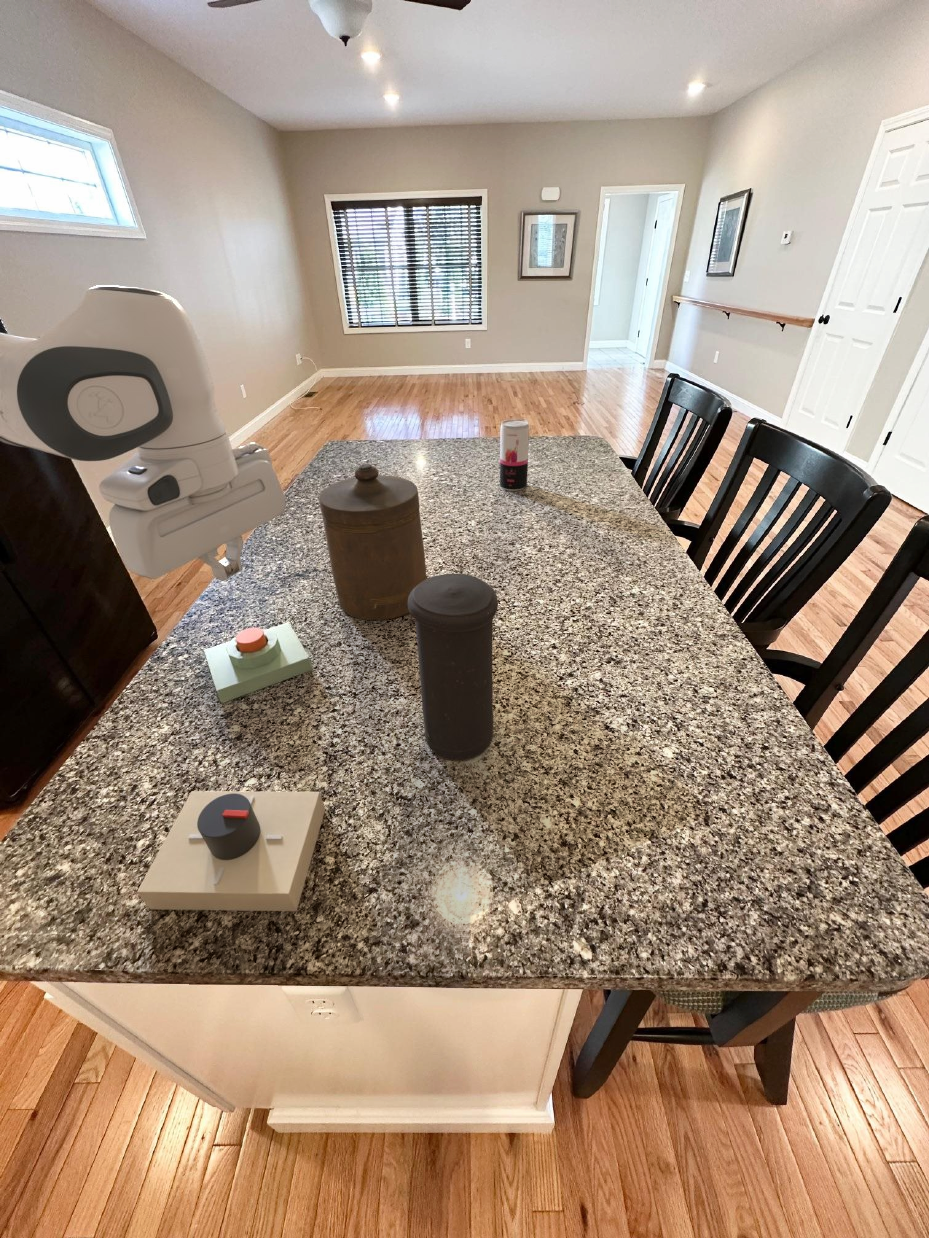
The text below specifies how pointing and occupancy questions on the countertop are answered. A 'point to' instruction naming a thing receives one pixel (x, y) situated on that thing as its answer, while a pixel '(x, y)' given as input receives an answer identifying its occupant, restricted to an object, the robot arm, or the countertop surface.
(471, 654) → the container
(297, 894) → the panel
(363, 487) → the wooden container
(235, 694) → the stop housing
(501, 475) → the beverage can
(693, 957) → the countertop surface
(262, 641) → the stop button
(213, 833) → the timer knob
